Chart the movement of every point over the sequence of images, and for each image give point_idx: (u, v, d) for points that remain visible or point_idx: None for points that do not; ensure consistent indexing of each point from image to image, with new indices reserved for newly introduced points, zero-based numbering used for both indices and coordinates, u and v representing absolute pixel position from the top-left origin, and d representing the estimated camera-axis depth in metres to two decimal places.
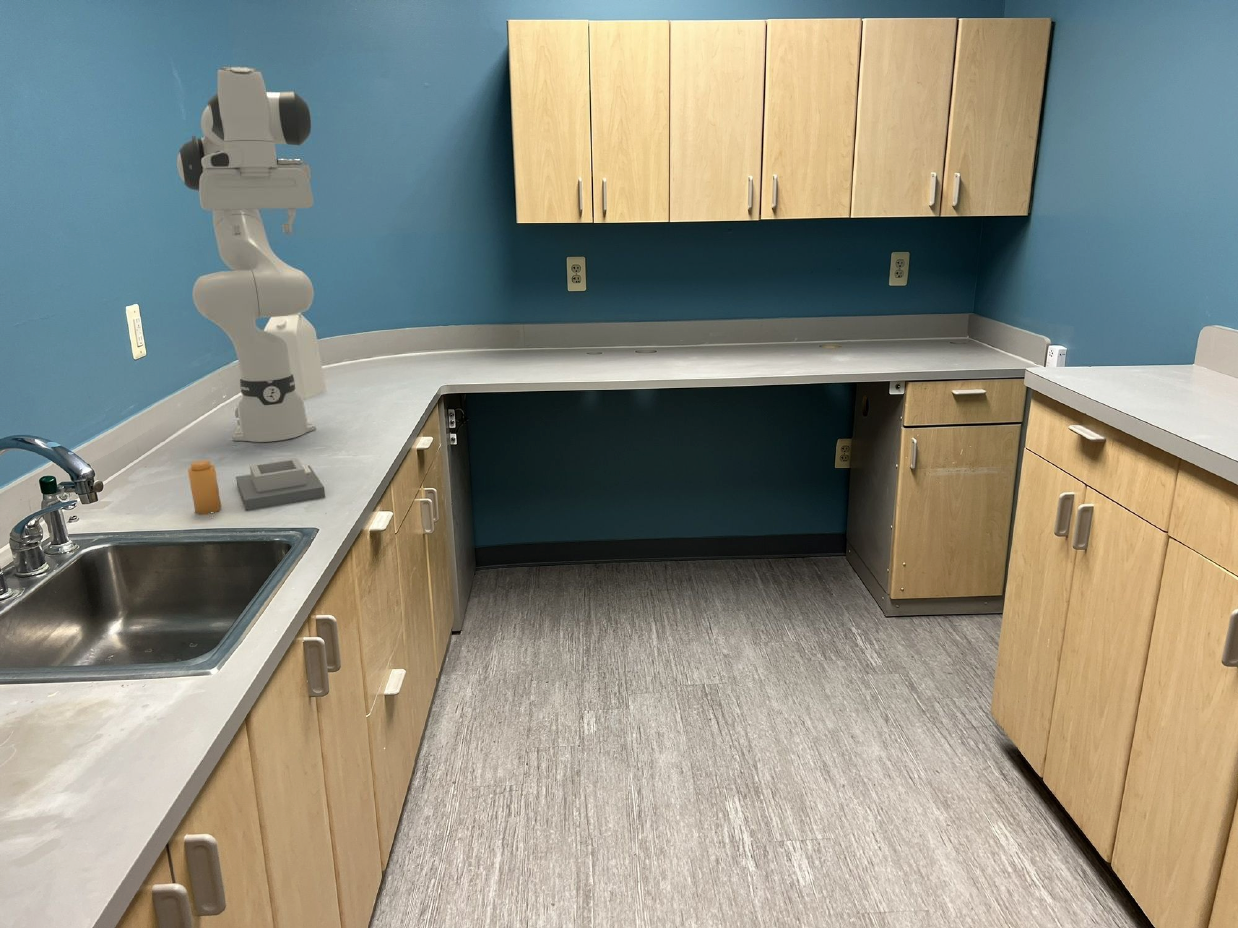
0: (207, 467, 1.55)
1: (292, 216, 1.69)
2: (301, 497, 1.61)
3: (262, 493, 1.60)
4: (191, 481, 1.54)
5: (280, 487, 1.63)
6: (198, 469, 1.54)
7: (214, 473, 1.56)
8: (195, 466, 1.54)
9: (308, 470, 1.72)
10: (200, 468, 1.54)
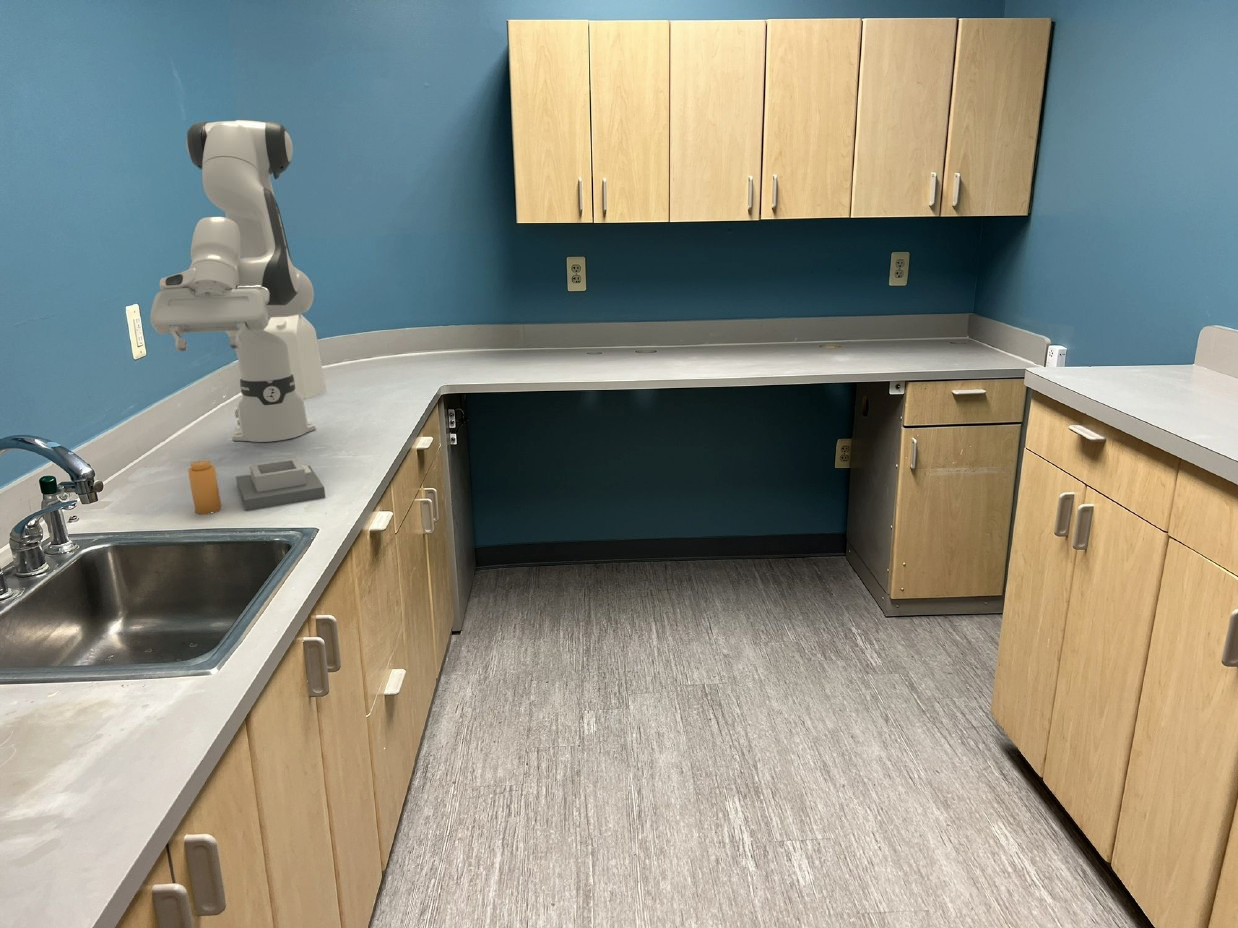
0: (207, 467, 1.55)
1: (240, 329, 1.60)
2: (301, 497, 1.61)
3: (262, 493, 1.60)
4: (191, 481, 1.54)
5: (280, 487, 1.63)
6: (198, 469, 1.54)
7: (214, 473, 1.56)
8: (195, 466, 1.54)
9: (308, 470, 1.72)
10: (200, 468, 1.54)
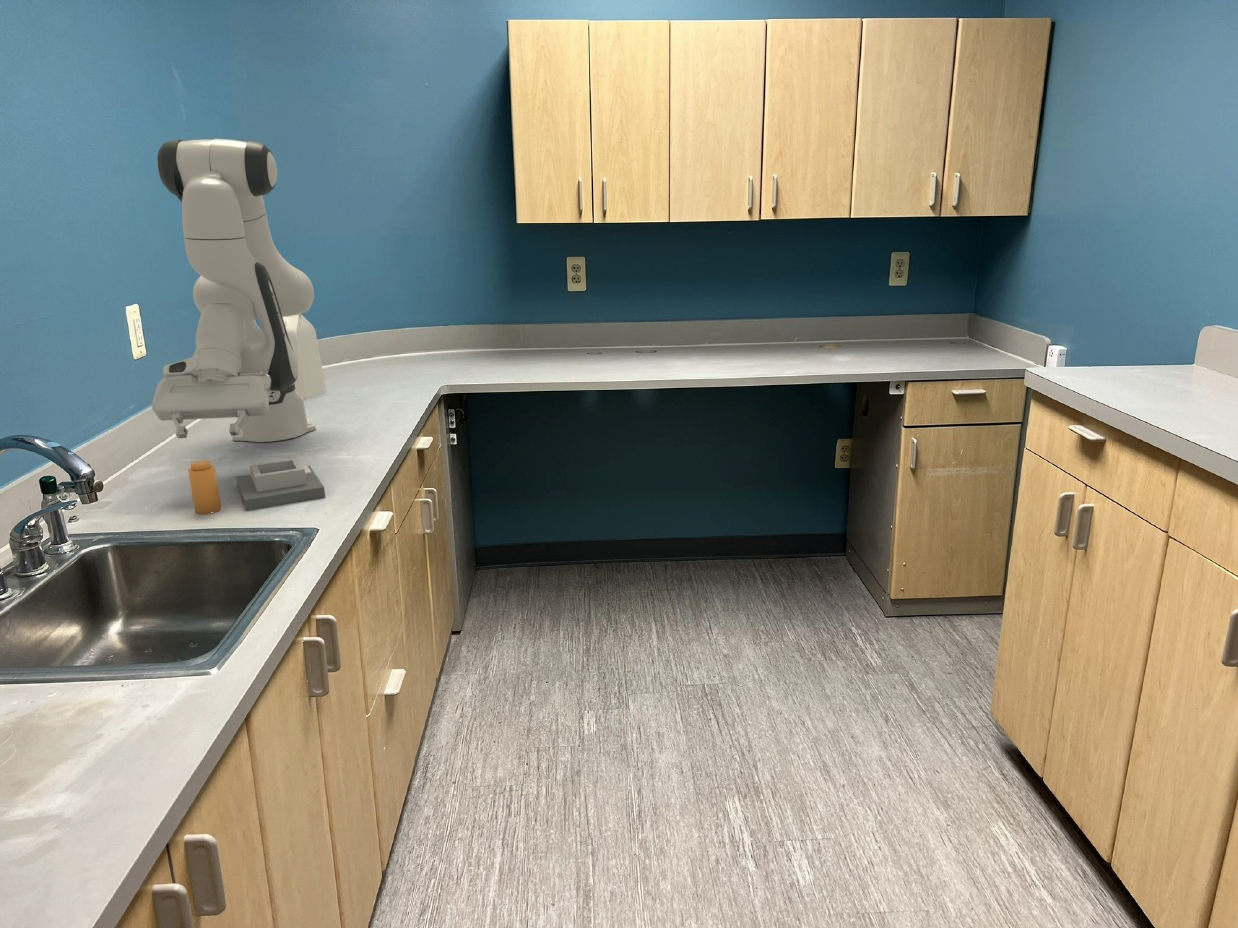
0: (207, 467, 1.55)
1: (240, 416, 1.62)
2: (301, 497, 1.61)
3: (262, 493, 1.60)
4: (191, 481, 1.54)
5: (280, 487, 1.63)
6: (198, 469, 1.54)
7: (214, 473, 1.56)
8: (195, 466, 1.54)
9: (308, 470, 1.72)
10: (200, 468, 1.54)
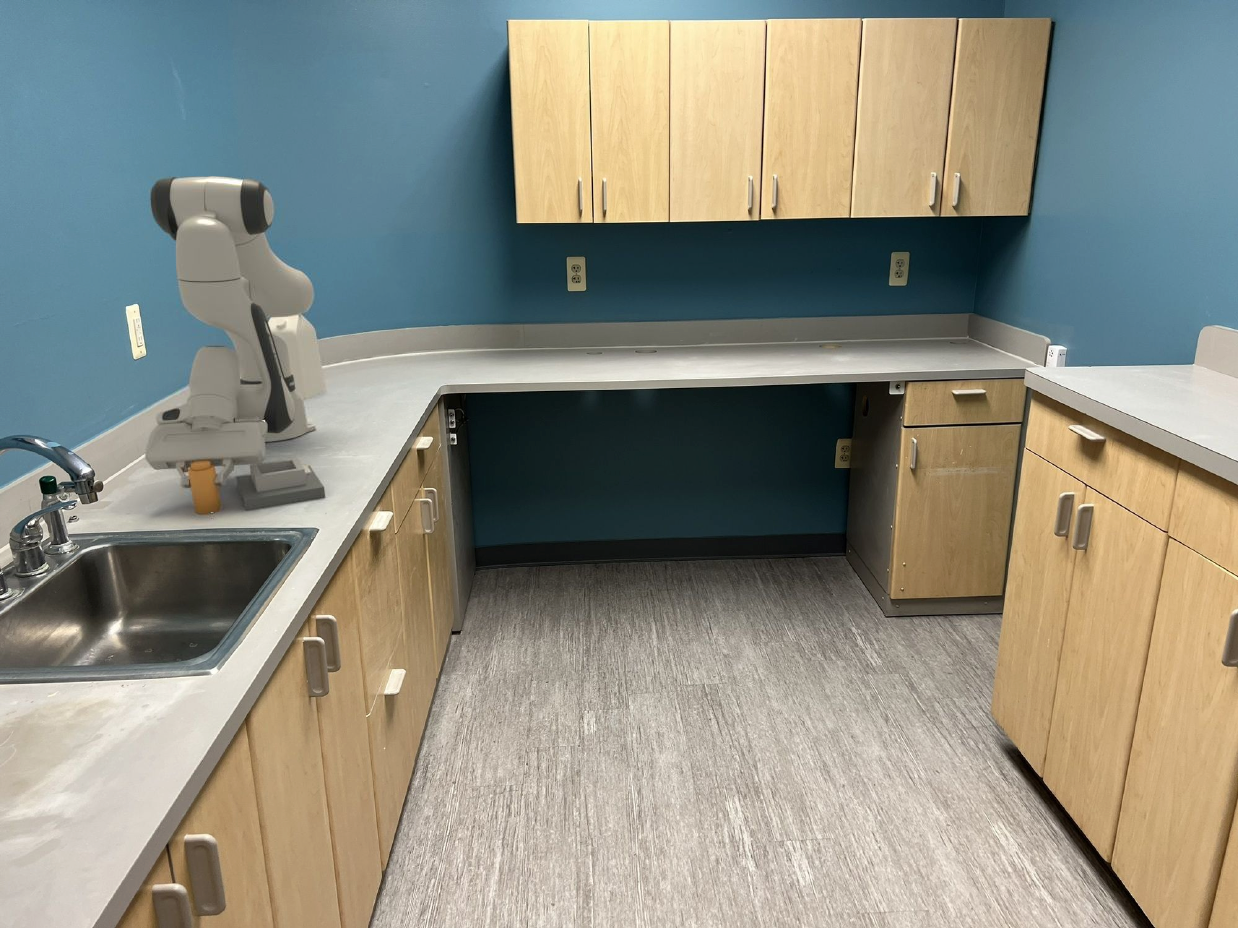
0: (207, 467, 1.55)
1: (226, 466, 1.57)
2: (301, 497, 1.61)
3: (262, 493, 1.60)
4: (191, 481, 1.54)
5: (280, 487, 1.63)
6: (198, 469, 1.54)
7: (214, 473, 1.56)
8: (195, 466, 1.54)
9: (308, 470, 1.72)
10: (200, 468, 1.54)
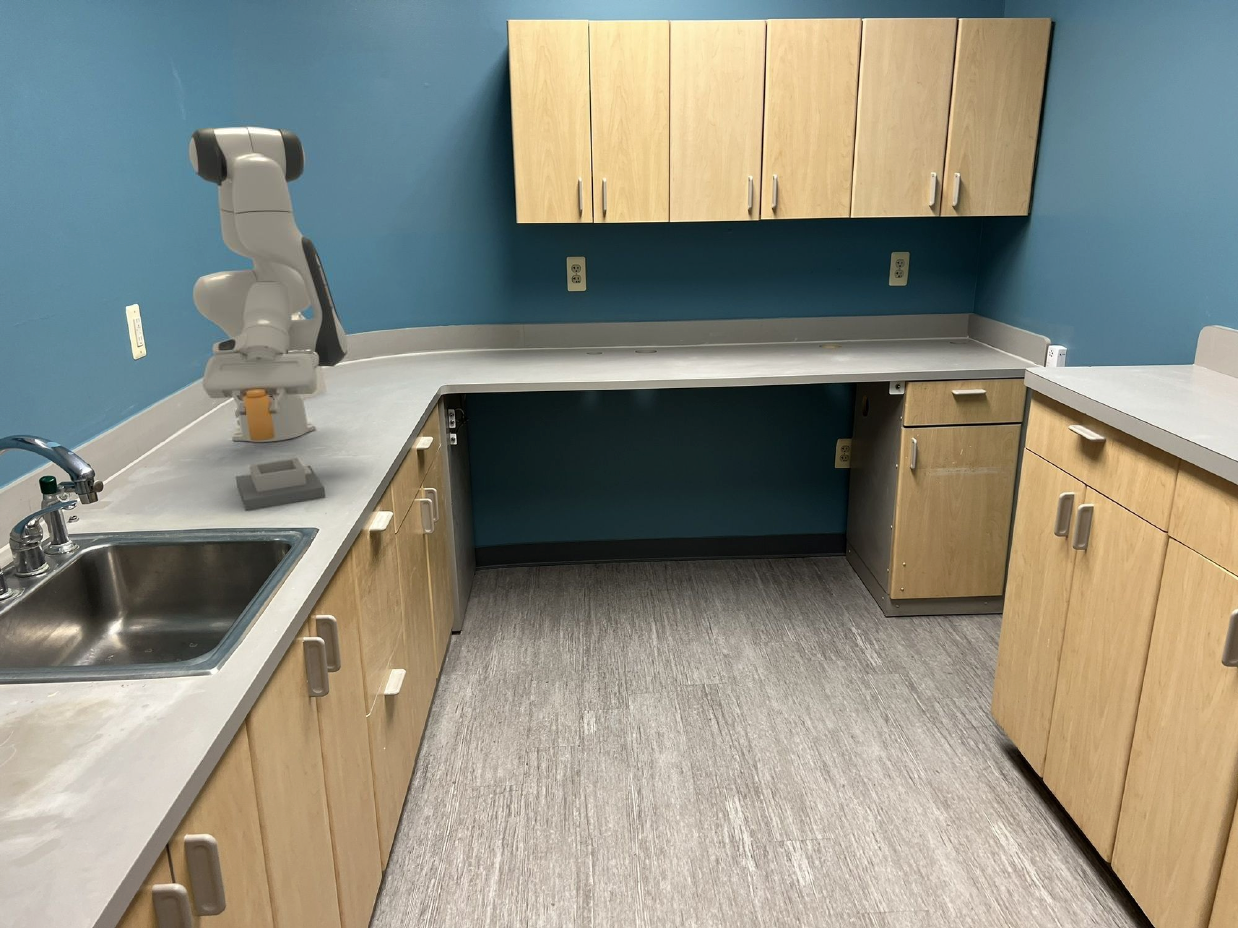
0: (262, 395, 1.60)
1: (280, 394, 1.62)
2: (301, 497, 1.61)
3: (262, 493, 1.60)
4: (247, 408, 1.59)
5: (280, 487, 1.63)
6: (253, 396, 1.59)
7: (268, 401, 1.61)
8: (251, 393, 1.59)
9: (308, 470, 1.72)
10: (255, 395, 1.59)
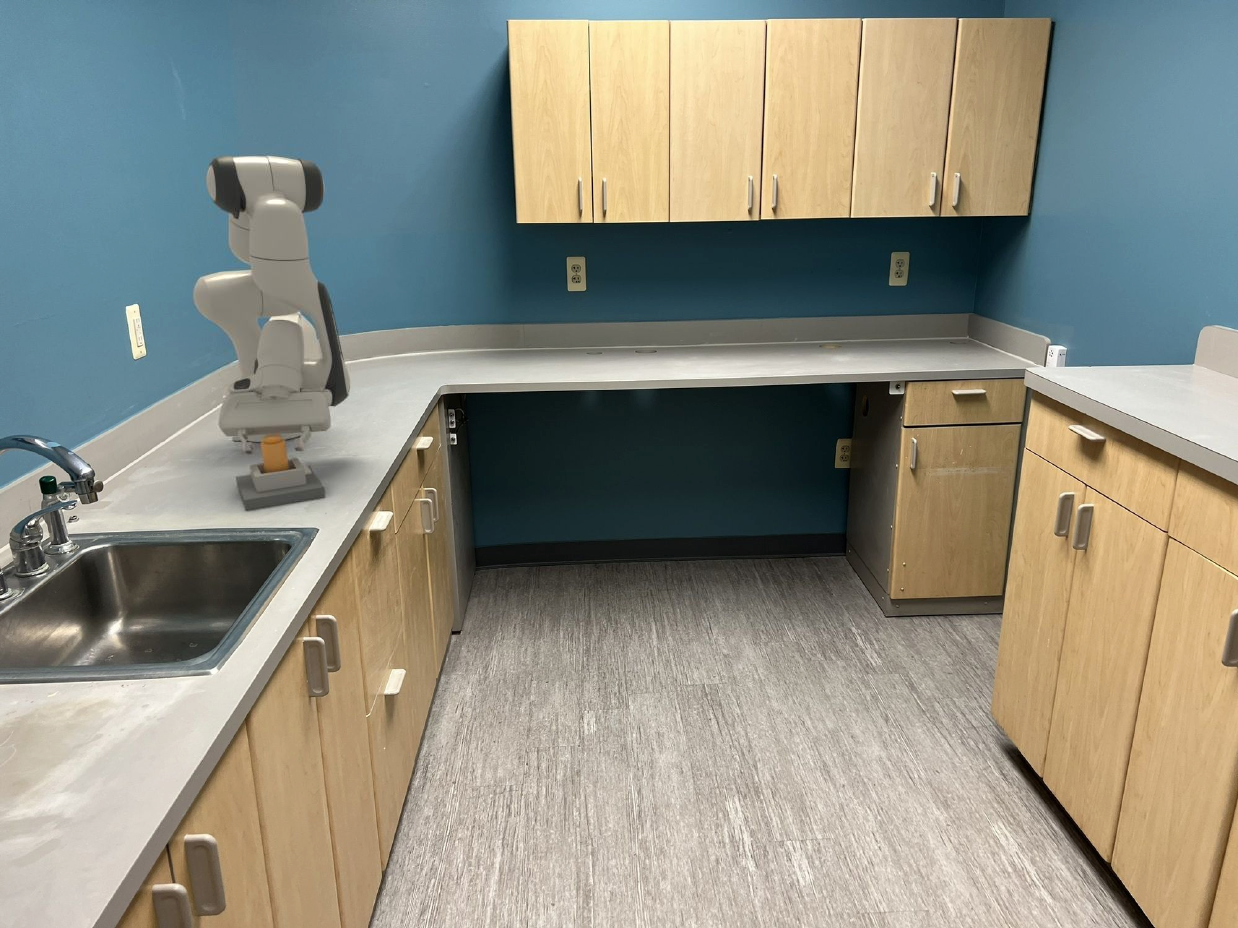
0: (279, 440, 1.63)
1: (304, 432, 1.65)
2: (301, 497, 1.61)
3: (262, 493, 1.60)
4: (264, 454, 1.63)
5: (280, 487, 1.63)
6: (270, 442, 1.63)
7: (285, 446, 1.65)
8: (268, 439, 1.62)
9: (308, 470, 1.72)
10: (272, 441, 1.63)
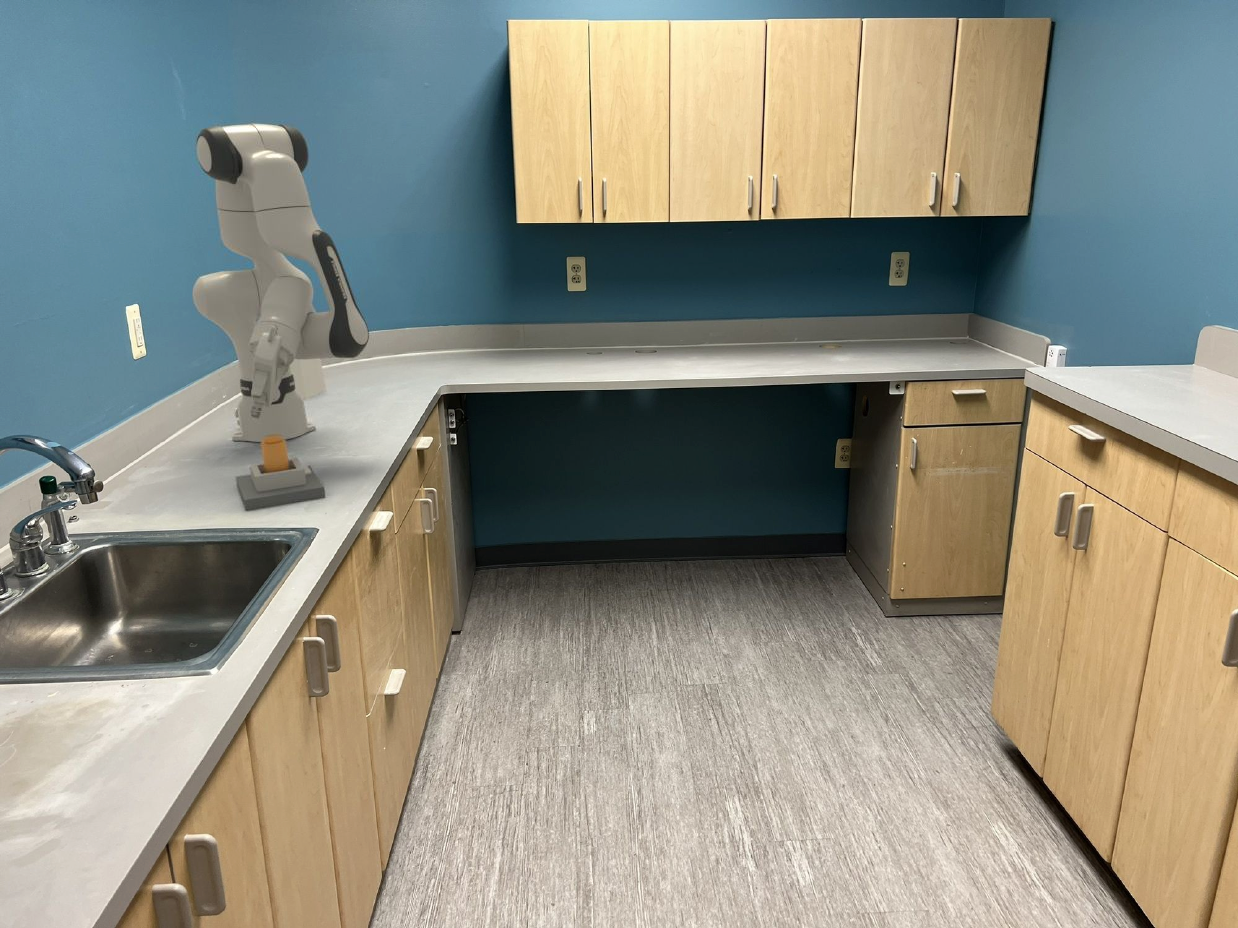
0: (279, 440, 1.64)
1: None
2: (301, 497, 1.61)
3: (262, 493, 1.60)
4: (264, 453, 1.63)
5: (280, 487, 1.63)
6: (271, 442, 1.63)
7: (285, 446, 1.65)
8: (268, 439, 1.63)
9: (308, 470, 1.72)
10: (273, 441, 1.63)
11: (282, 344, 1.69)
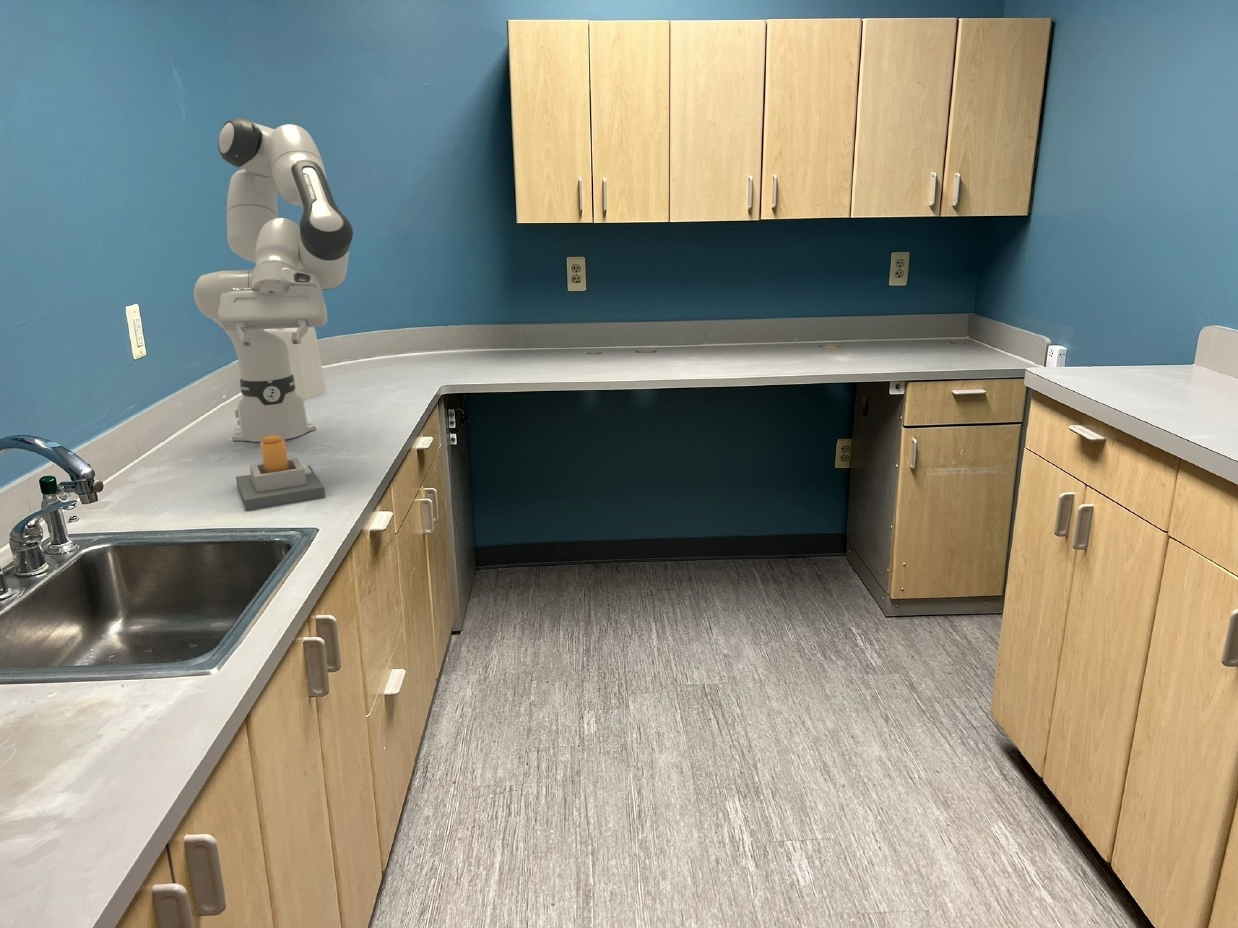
0: (278, 440, 1.63)
1: None
2: (301, 497, 1.61)
3: (262, 493, 1.60)
4: (263, 454, 1.63)
5: (280, 487, 1.63)
6: (270, 442, 1.63)
7: (284, 446, 1.65)
8: (267, 439, 1.63)
9: (308, 470, 1.72)
10: (272, 441, 1.63)
11: (251, 287, 1.71)
